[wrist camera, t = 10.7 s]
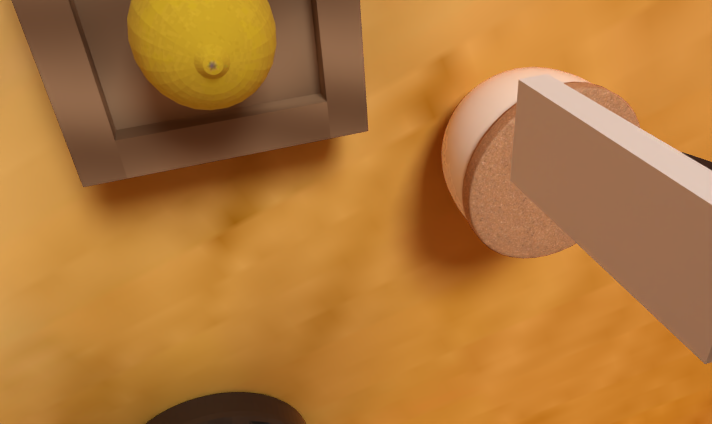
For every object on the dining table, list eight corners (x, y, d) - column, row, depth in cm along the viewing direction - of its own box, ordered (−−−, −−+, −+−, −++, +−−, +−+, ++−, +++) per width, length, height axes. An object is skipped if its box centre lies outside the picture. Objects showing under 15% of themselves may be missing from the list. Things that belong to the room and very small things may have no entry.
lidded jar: (442, 220, 42) (507, 305, 34) (394, 93, 36) (460, 163, 28) (575, 151, 42) (669, 221, 35) (550, 13, 36) (659, 61, 28)
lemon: (139, -79, 24) (138, -46, 17) (272, -38, 26) (314, 5, 20) (120, 53, 26) (112, 126, 20) (243, 80, 28) (272, 153, 22)
